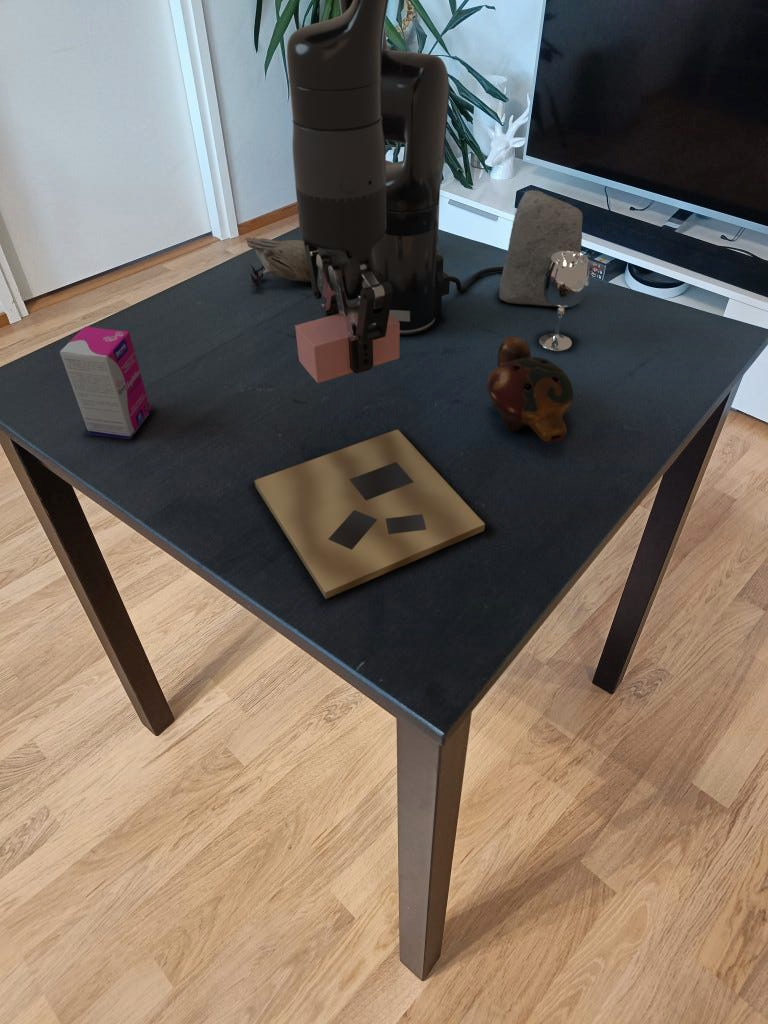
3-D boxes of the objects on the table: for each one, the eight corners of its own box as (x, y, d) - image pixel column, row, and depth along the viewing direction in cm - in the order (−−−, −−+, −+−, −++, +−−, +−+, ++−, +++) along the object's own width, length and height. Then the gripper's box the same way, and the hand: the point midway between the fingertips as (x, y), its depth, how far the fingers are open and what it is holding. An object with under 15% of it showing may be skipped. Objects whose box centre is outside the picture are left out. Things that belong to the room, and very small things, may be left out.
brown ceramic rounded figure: (527, 376, 92) (540, 322, 86) (590, 451, 83) (610, 397, 77) (460, 389, 90) (469, 335, 84) (517, 469, 80) (532, 414, 74)
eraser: (378, 338, 74) (378, 302, 71) (399, 358, 71) (399, 322, 68) (298, 361, 71) (294, 325, 68) (317, 383, 68) (313, 346, 65)
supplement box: (133, 440, 84) (105, 357, 76) (87, 434, 85) (55, 351, 77) (154, 411, 88) (129, 329, 80) (110, 406, 89) (81, 324, 81)
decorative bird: (354, 287, 110) (351, 240, 105) (250, 293, 110) (242, 246, 104) (352, 271, 114) (350, 225, 109) (252, 277, 113) (244, 230, 108)
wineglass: (529, 348, 97) (541, 265, 89) (539, 328, 101) (552, 246, 92) (572, 356, 95) (588, 272, 87) (580, 335, 99) (596, 252, 91)
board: (397, 435, 84) (397, 428, 83) (484, 530, 73) (485, 524, 72) (255, 487, 78) (254, 480, 77) (325, 599, 67) (324, 592, 66)
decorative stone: (575, 295, 107) (593, 193, 97) (569, 314, 103) (587, 210, 93) (504, 285, 110) (514, 185, 100) (495, 303, 106) (505, 201, 96)
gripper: (423, 197, 55) (418, 382, 67) (343, 145, 64) (352, 317, 76) (336, 216, 53) (347, 405, 65) (266, 160, 62) (287, 334, 74)
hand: (350, 356), depth 71 cm, fingers closed on eraser, 4 cm apart
